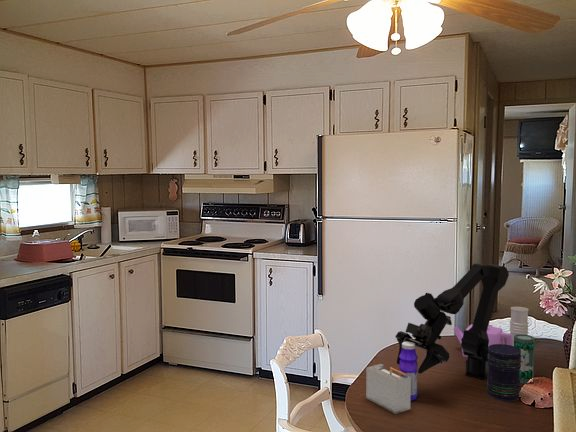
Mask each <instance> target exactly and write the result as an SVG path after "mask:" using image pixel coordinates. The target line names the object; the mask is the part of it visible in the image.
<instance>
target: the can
mask: <svg viewBox="0 0 576 432" xmlns="http://www.w3.org/2000/svg"><path fill="white" fill-rule="evenodd" d="M535 343H536V338H535V336H533V335H529V334H527V335H525V334H524V335H523V334H518V335H515V336H514V346H515V347H517V348H519V349H520V350H521V354H520V355H521V368H520V374H519V379H520V384H523V385H527V384H526V383H527V382H528V381H529V380H530V379H532V378H535V374H534V373H535V352H536V351H535V349H536V348H535V347H536V345H535Z"/></svg>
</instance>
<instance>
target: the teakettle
mask: <svg viewBox="0 0 576 432" xmlns="http://www.w3.org/2000/svg"><path fill="white" fill-rule="evenodd" d="M472 325H473V323H472V324H469V326H467V327H466V329H465V330H469V329H470V328H471V327H472ZM452 330H453V332H454V333H455V336H456V337H457V340H458V342H459V344H460V345H461V342H462V341H461V339H462V337H463V333H464V332H462V330H461V329H460V328H459V327H453V328H452ZM487 335H488V338H489V344H488V347H489V346H490V345H493V344H506V345H511V346H513V338H512V334H510V333H506V332H504V331H503V328H501V327H496V326H493V325H492V324H489V325H488V328H487ZM505 339H506V343H505ZM461 355H462V357H463V358H466V359H468V356H467V355H464V353H463V349H462V348H461Z"/></svg>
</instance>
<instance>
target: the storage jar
mask: <svg viewBox="0 0 576 432" xmlns="http://www.w3.org/2000/svg"><path fill="white" fill-rule="evenodd" d="M520 354H521V350H520V349H519V348H517V347H515V346H511V345H507V343H505V344H493V345H490V346H489V347H488V361H487V362H488V376H487V377H486V380H487V381H486V388H487V389H486V394H487V396H489V398H492V399H494V400H497V401H499V402H500V401H501V402H515V401H518V400H520V398H519V395H520V392H521V383H520V379H519V374H520V368H521V355H520Z"/></svg>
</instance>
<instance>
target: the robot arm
mask: <svg viewBox="0 0 576 432" xmlns="http://www.w3.org/2000/svg"><path fill="white" fill-rule="evenodd" d="M509 275H510V272H509V271H508V269H507V267H506V266H503V265H500V264H499V265H498V264H493V263H492V264H491V263H487V264H482V263H478V262H477V263H473V264H472V265H471V268H470V269H469V270H468V271H467V272H466V273H465V274H464V275H463V276H462V277H461V278H460V279H459V280H458V282H456V284H454V285H453V286H452V287H451V288H449V289H446V290H444V291H442V292H440V293H439V294H438V295H437V296H436V297H434V295H433V294H432V293H429V292H425V294H424V295H421V296H419V297H418V298H416V299H415V301H414V303H413V307H414V308H415V310H416V311H417V312H418V313H419V314H420V315H421V316H422V318H423V319H424V320H426V321H425V322H424V324H423V323H420V325H417V324H415V323H412V322H407V325H406V329H405V331H402V330H401V331H398V332H397V333H396V335H395V339H396V341H397V342H398V346H399V348H398V349H399V350H398V354H397V359H396V364H397V365H398V366H399V363H400V358H399V355H400V354H401V351H402V343H403V342H407V341H408V342H413V343H415V348H419V349H421V350H424V351H426V354H425V357H424V359H423V361H422V362H421V365H420V366H419V367H418V369H417V374H419V375H421V374H423V373H424V372H426V371H427V370H429V369H431V368H432V367H434V366H437V365H438V364H443V363H448V361H449V359H450V353H449V352H448V350H447V349H446V347H444V345H442V344H439V343H436V342H437V340H441V339H442V336H441V333H442V332H443V330H444V329H445V328H446V326H447V325H449V326H452V325H453V323H452V320H451V319H452V318H451V316H450V315H457V314H458V313H459V312H460V310H462V308H463V306H464V303H465V302H464V301H465V298H466V297H467V296H468V295H469V294H470V293H471V292H472V290H473V289H474V288H475V287H477V285H478V284H479V283H480V282H481V284H482V290H481V294H480V297H479V300H478V305H477V308H476V311H475V316H474V319H473V322H472V324H473V325H472V327H471V328H470V329H469V330H466V329H465V330H463V332H462V333H463V337H462V339H461V341H462V342H461V344H460V346H461V350H462V349H463V353H464V355H467V356H468V358H466V360H465V376H469V377H473V378H477V379H485V378H486V379H487V376H488V362H487V361H488V344H489V338H488V335H487V328H488V325H490V321H491V317H492V314H493V310H494V307H495V303H496V301H497V300H496V299H497V295H498V293H499V292H500V290H501V289H503V288H504V287H505V285H506V284H507V281H508V278H509ZM446 313H447V314H450V315H447V314H446ZM410 334H412V335H410Z"/></svg>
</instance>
